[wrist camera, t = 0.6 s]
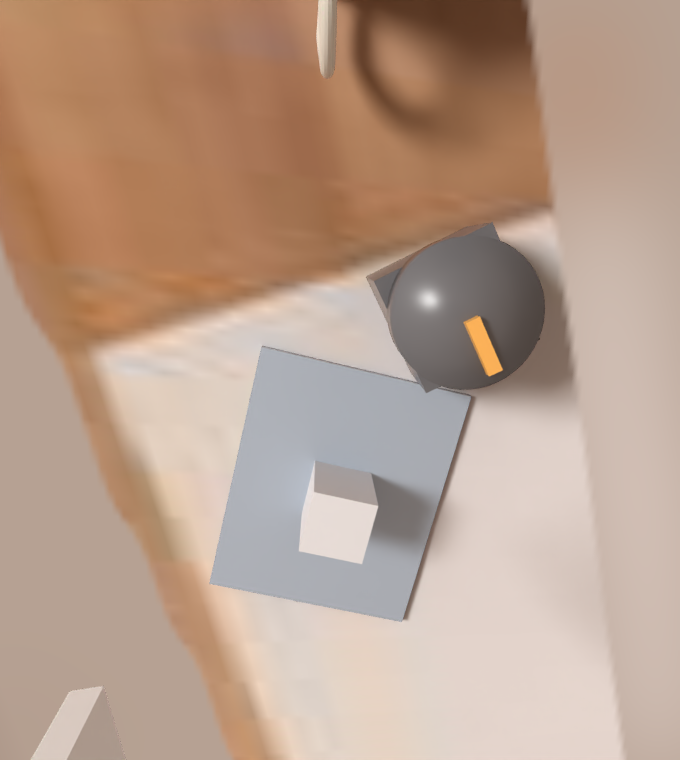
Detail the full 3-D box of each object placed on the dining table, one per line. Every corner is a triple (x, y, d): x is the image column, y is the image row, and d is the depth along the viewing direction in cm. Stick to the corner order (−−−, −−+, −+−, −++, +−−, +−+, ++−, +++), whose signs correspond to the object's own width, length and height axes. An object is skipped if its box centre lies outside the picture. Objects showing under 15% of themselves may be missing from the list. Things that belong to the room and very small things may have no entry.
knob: (356, 273, 32) (366, 279, 25) (469, 217, 32) (514, 206, 24) (407, 381, 34) (431, 417, 26) (516, 329, 33) (571, 350, 26)
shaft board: (262, 345, 33) (251, 361, 28) (469, 394, 34) (494, 418, 29) (210, 580, 36) (193, 630, 31) (401, 618, 37) (413, 672, 33)
